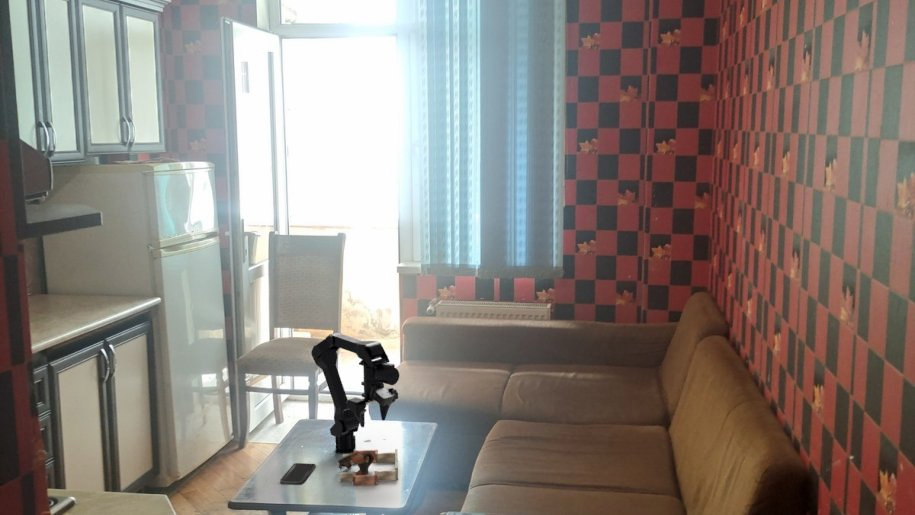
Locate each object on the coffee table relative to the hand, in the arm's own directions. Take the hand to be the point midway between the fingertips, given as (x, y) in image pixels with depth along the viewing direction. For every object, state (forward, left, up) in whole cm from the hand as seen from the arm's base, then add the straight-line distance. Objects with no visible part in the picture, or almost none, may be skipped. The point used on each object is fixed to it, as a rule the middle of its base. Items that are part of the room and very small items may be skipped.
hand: (373, 423), depth 280 cm
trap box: (-1, -9, -13) cm, 16 cm away
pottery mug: (-5, -10, -13) cm, 17 cm away
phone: (-24, -9, -14) cm, 30 cm away
